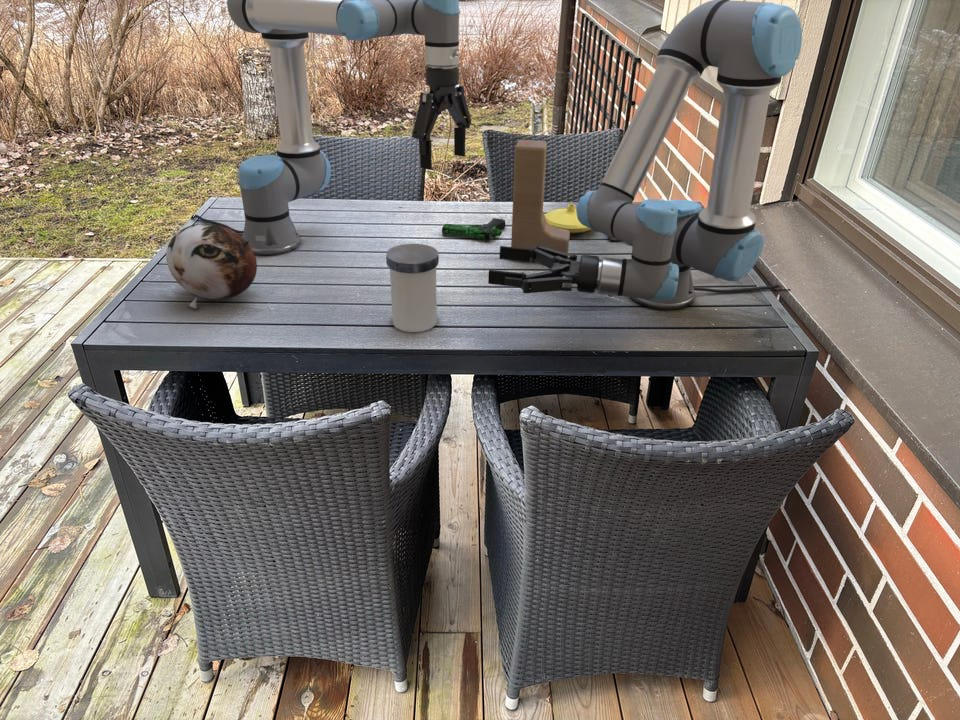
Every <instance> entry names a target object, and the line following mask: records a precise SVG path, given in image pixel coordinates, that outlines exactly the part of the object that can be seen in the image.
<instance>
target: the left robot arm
mask: <svg viewBox="0 0 960 720" xmlns="http://www.w3.org/2000/svg"><path fill="white" fill-rule="evenodd" d="M226 7H227V12H228V15H229V17H230V19H231V21H232V22H233V23H234V25H236V26H237V28H239V29H240V30H242V31H244V32H246V33H250V34H260V35H261V40H262V41H264V42H265V43H266V44H267V46H268V48H269V57H270V63H271V72H272V81H273V88H274V96H275V103H276V111H277V119H278V128H279V135H280V142H279V143H278V145H277V146H276V148H275V149H276V150H275V151H276V154H262V155H254V156H253V157H250V158H247V159H245V160H244V161H242V162H241V163H240V164H239V166H238V168H237V174H238V185H239V190H240V194H241V195H240V196H241V201H242V208H243V212H244V213H243V215H244V219H245V220H244V226H243V228H244V229H243V230H239V229H236V228H233V227H231V226H229V225H227V224H224V223H223V222H218V221H214V220H211V219H207V218H205V217H204V218H203V217H202V216H200V215H198V214H192V216H190V220H194V219H198V220H200V221H202V222H204V223H206V224H216V225H220V226H224V227H226V228H229V229H231V230H233V231H234V232H236V233H237V234H239V235H240V234H241V235H242V237H243V238H244V239H245V240H246V241H249V242H248V244H249V245H250V247H251V248H252V250H253V252H254V254H255V256H256V255H257V256H275V255H281V254H282V255H283V254H285V253H289V252H291V251H293V250H296V249H297V248H298V247H299V246H300V244H301V241H300V235H299V233H298V231H297V229H296V227H295V225H294V223H293V220H292V218H291V216H290V207H289V203H291V202H293V201H296V200H299V199H302V198H305V197H309V196H312V195H315V194H317V193H318V192H321V191H322V190H324V189H325V188H326V187H328V185H329V183H330V180H331V175H332V168H331V163H330V160H329V158H327V155H326V153H325V152H324V151H323V150H321V146H320V144H319V143H318V142H316V141H315V140H314V134H313V133H314V132H313V123H312V115H311V114H312V113H311V104H310V94H309V93H310V92H309V84H308V75H307V65H306V55H305V44H306V43H307V41H308V40H309V39H310V36H309V34H310V33H311V34H319V35H320V34H321V35H328V36H329V35H330V36H339V37H345V38H346V39H347V40H350V41H359V42H360V41H361V42H362V41H363V42H364V41H368V40H373V39H378V38H385V37H392V36H400V35H418V36H424V64H425V65H426V67H425V72H424V73H425V84H426V85H427V86H428V87H429V92H420V94H419V104H418V109H417V112H416V117H415V121H414V125H413V130H412V132H411V138H412V139H415V140H417V141H418V153H419V159H420V160H419V163H420V165H419V168H420V169H425V170H432V169H433V163H432V162H433V161H432V160H433V157H432V139H430V136H431V135H432V133H433V129H434V128H435V127H434V126H435V125H436V122H437V120H438V117H439V115H441V114H442V112H444V111H446V110H447V112H448V113H449V115H450V117H451V119H452V120H453V123H454V124H455V126H456V127H453V130H454V131H453V155H454V156H456V157H463V158H464V157H466V136H467V135H466V133H467V132H466V130H467V129H470V127H471V124H472V117H471V114H470V110H469V107H468V102H467V99H466V96H465V87H464V85H462V84H460V68H459V67H458V65H459V64H460V41H459V40H460V39H459V38H460V34H459V33H460V31H459V30H460V13H461V10H460V3H459V0H226ZM194 215H195V216H194ZM193 216H194V217H193Z"/></svg>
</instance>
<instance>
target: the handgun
mask: <svg viewBox="0 0 960 720" xmlns="http://www.w3.org/2000/svg"><path fill="white" fill-rule="evenodd" d="M505 228H506V220H505V219H503V218H497V217H492V219H491V220H490V221H489V222H488V223H483V224H482V225H479V224H472V225H459V224H453V223H445V224H443V226H442V227H441V235H446V236H454V237H462V238H469V239H470V238H471V239H474V240H479V241H484V242H491V241H492V240H494V239H495V238H497V237H500V236H502V230H504V229H505Z"/></svg>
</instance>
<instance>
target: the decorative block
mask: <svg viewBox="0 0 960 720" xmlns="http://www.w3.org/2000/svg"><path fill="white" fill-rule="evenodd" d="M547 151H548V143H547V141H546V140H533V139H518V140H517V142H516V145H515V146H514V162H513V163H514V164H513V165H514V166H513V167H514V168H513V186H512V187H513V188H512V189H513V190H512V191H513V192H512V216H511V218H512V219H511V238H510V239H511V240H510V241H511V243H510V247H517V248H527V249H532V248H535V247H536V245H539V246H543V247H546V248H550V249H553V250H557V251H560V252H564V253H567V254H569V247H570V236H571V235H570V234H571V233H570V232H569V231H568V230H565V229H560V228H556V227H553V226H551V225H550V224H549V223H547V221H546V218H545V215H546V214H545V213H544V199H545V185H546V184H545V183H546V182H545V181H546V167H547ZM541 251H542V250H541ZM530 261H531V258H530Z"/></svg>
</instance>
